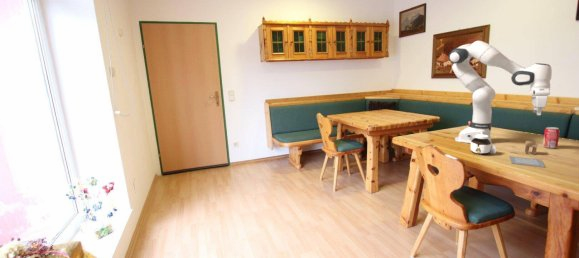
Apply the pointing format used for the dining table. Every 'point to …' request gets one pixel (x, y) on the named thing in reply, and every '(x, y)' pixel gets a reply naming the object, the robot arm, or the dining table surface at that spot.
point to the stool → (531, 144)
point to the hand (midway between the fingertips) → (537, 113)
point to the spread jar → (482, 145)
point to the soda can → (551, 137)
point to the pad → (526, 161)
